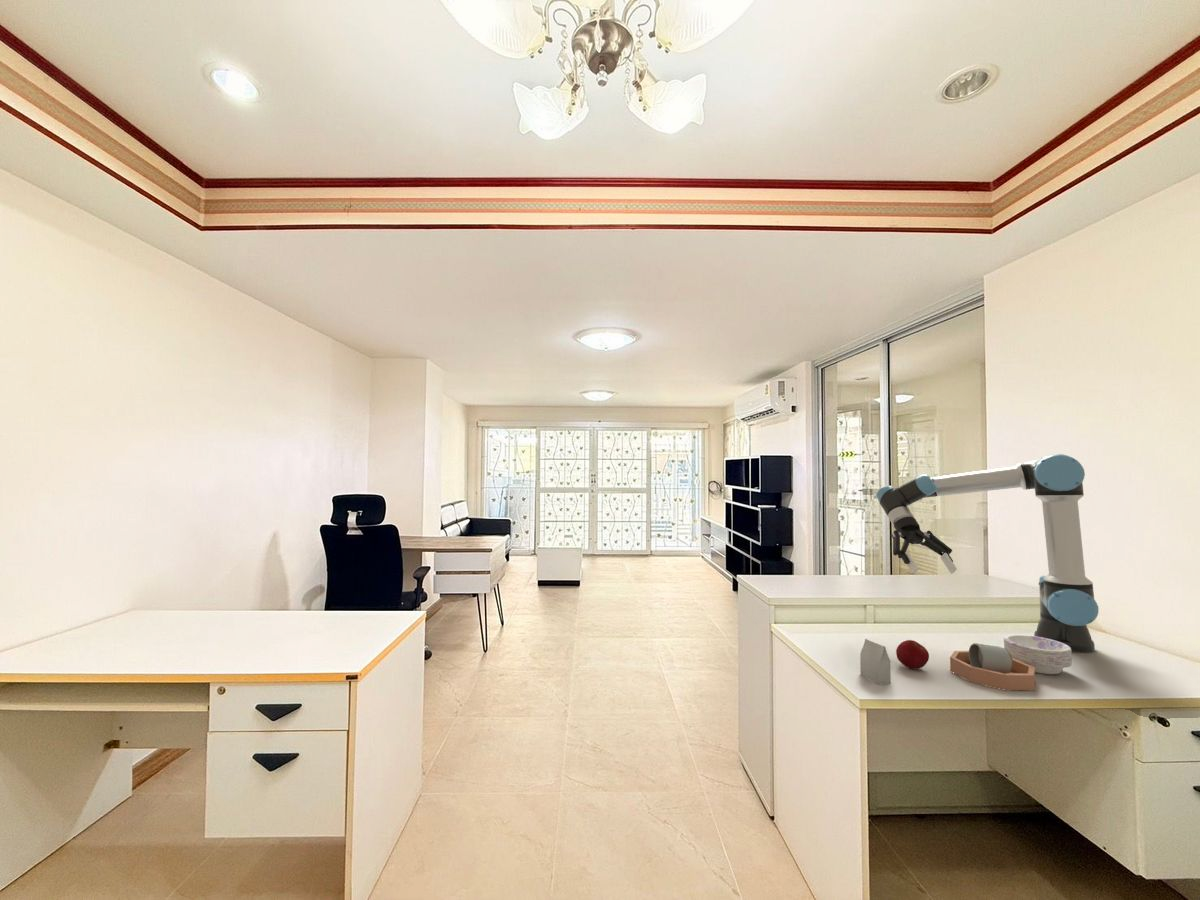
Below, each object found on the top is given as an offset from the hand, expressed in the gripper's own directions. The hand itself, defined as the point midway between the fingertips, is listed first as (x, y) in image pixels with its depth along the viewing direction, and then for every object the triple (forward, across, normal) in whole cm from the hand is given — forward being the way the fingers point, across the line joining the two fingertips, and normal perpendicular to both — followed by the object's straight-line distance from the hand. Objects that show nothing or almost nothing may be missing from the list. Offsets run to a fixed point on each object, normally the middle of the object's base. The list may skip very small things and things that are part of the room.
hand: (934, 571), depth 167 cm
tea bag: (+36, +38, +1) cm, 52 cm away
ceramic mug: (+33, +2, -1) cm, 33 cm away
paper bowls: (+31, -17, -4) cm, 36 cm away
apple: (+30, +21, -5) cm, 37 cm away
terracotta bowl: (+35, +2, 0) cm, 35 cm away
